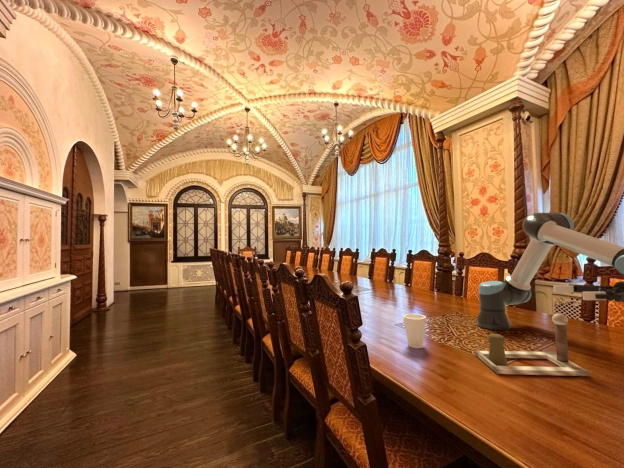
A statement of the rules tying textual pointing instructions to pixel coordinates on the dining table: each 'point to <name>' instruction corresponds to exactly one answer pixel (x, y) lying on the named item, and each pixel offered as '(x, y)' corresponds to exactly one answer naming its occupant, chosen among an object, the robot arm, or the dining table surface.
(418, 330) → the foam cup
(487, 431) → the dining table surface
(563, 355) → the joystick on frame
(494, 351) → the cork
